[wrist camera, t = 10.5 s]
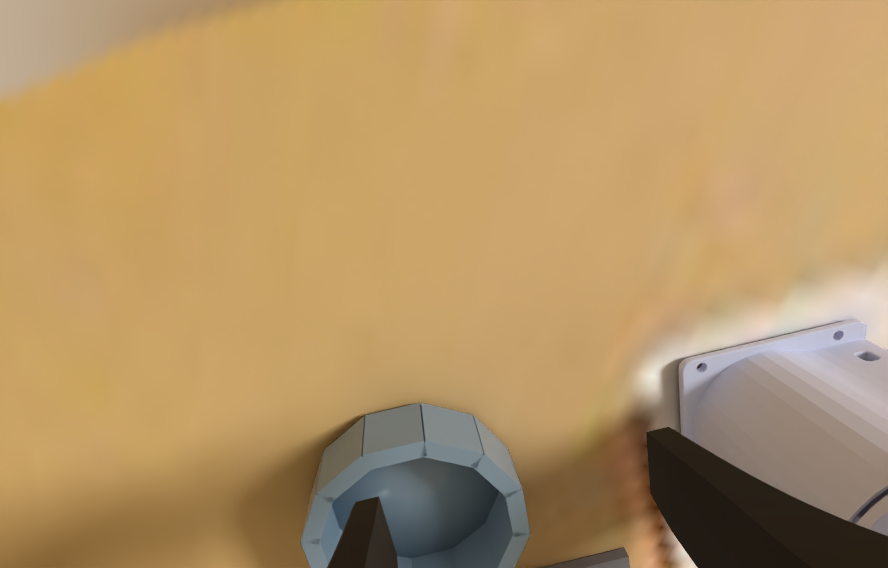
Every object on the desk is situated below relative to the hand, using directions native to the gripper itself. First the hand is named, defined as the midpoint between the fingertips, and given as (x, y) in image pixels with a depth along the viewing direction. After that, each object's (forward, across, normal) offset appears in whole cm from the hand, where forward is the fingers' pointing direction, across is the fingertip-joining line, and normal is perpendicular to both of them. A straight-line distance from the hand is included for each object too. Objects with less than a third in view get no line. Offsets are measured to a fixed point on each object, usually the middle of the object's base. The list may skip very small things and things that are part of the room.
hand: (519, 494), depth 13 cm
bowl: (+10, +4, +8) cm, 14 cm away
